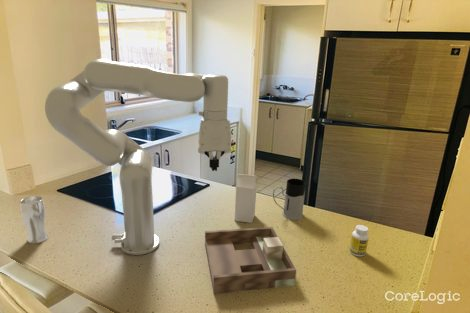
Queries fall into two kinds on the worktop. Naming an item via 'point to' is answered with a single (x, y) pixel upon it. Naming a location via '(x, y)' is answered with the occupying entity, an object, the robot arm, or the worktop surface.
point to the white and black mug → (293, 199)
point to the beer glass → (34, 218)
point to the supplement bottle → (359, 241)
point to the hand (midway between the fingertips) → (214, 169)
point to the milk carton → (245, 198)
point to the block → (272, 248)
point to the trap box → (245, 261)
